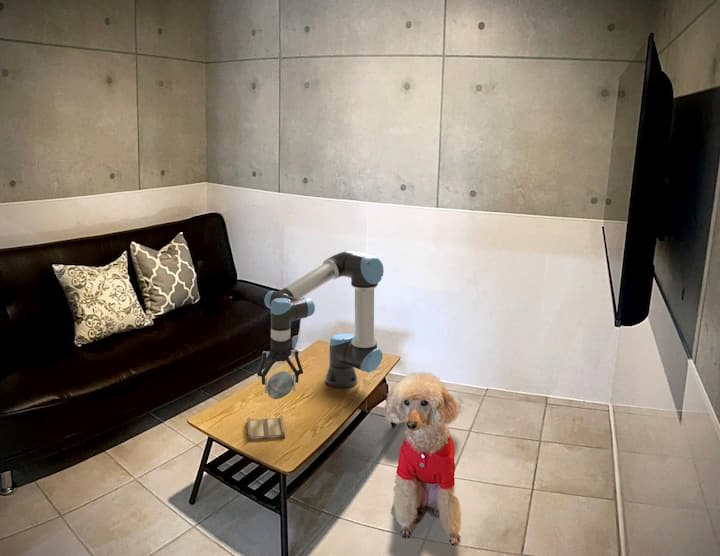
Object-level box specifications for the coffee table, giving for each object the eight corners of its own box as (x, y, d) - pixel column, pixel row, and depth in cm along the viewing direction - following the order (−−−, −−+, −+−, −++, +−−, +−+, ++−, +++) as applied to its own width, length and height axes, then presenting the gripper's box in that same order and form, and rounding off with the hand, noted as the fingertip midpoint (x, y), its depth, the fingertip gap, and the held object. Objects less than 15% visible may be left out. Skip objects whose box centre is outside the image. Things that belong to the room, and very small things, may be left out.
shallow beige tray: (281, 419, 253) (281, 414, 252) (284, 438, 239) (284, 432, 238) (247, 422, 250) (247, 416, 249) (248, 441, 236) (248, 435, 235)
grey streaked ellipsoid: (273, 376, 250) (281, 360, 244) (293, 389, 249) (301, 373, 243) (257, 397, 238) (265, 381, 233) (278, 410, 238) (286, 394, 232)
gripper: (308, 333, 242) (307, 385, 248) (249, 335, 237) (250, 388, 242) (311, 340, 235) (310, 393, 241) (250, 342, 230) (251, 396, 235)
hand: (280, 390), depth 242 cm, fingers closed on grey streaked ellipsoid, 10 cm apart
